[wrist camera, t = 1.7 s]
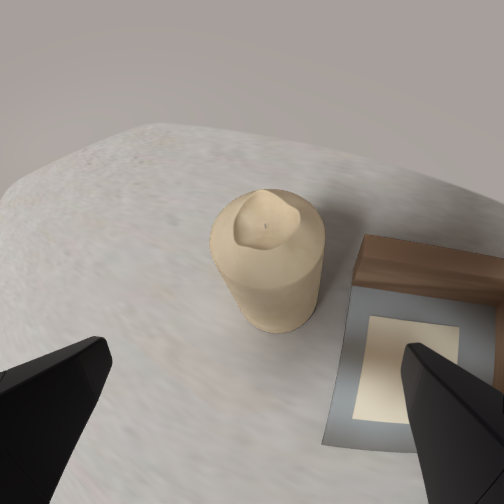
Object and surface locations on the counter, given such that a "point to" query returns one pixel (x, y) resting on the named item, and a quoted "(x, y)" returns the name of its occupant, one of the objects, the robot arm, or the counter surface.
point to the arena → (411, 334)
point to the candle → (270, 257)
